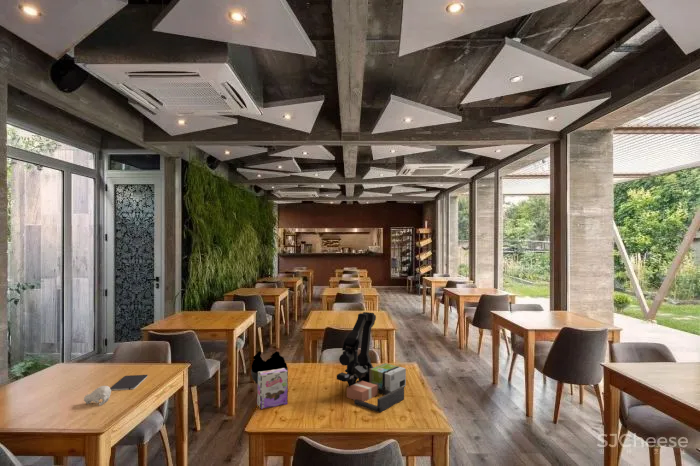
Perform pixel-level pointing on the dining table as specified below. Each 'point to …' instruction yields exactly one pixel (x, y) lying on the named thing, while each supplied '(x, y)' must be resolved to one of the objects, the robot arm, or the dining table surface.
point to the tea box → (388, 376)
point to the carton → (362, 391)
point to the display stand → (383, 400)
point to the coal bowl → (266, 364)
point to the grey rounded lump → (98, 395)
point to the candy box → (272, 388)
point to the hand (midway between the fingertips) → (352, 389)
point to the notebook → (129, 382)
